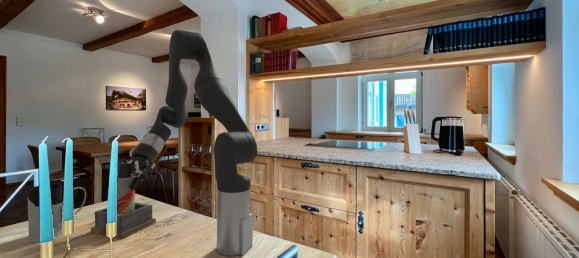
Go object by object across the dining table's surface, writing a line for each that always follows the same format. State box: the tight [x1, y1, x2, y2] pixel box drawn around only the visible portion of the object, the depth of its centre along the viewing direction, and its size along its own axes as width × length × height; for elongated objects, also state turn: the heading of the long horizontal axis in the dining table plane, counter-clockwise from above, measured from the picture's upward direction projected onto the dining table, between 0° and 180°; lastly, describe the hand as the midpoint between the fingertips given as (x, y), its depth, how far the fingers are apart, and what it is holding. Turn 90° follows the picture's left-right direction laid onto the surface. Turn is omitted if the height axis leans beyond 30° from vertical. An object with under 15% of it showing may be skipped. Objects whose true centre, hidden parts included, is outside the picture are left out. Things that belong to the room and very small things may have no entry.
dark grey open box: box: [90, 201, 157, 240], centre depth 88 cm, size 13×13×6 cm
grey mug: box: [26, 183, 87, 243], centre depth 83 cm, size 9×14×15 cm, turn 130°
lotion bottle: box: [117, 163, 136, 215], centre depth 88 cm, size 6×6×20 cm
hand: (120, 187), depth 86 cm, fingers open, 8 cm apart
